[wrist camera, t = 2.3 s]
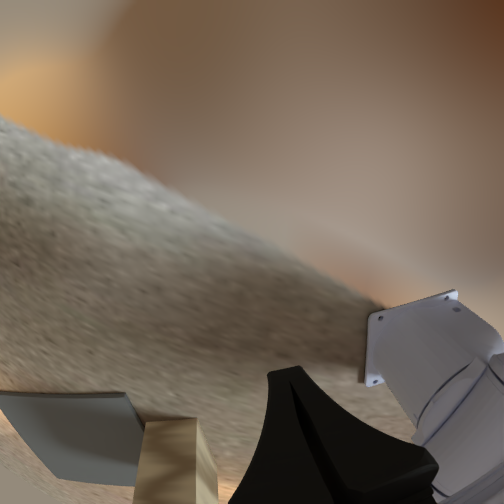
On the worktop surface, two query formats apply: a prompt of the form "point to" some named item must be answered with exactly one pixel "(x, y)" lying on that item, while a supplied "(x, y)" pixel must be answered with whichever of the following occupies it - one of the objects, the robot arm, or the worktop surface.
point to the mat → (79, 434)
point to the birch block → (176, 465)
